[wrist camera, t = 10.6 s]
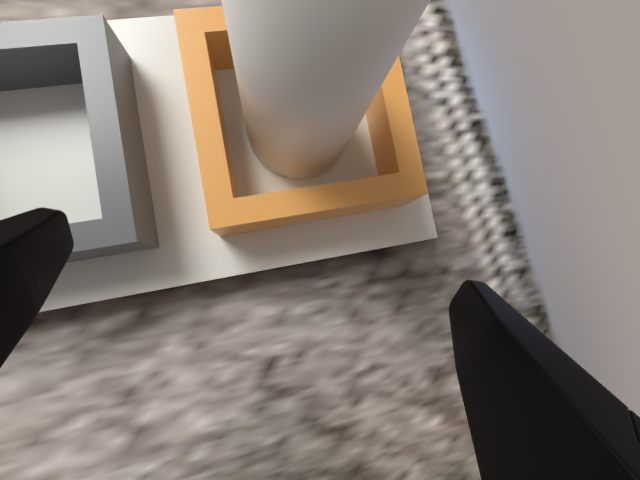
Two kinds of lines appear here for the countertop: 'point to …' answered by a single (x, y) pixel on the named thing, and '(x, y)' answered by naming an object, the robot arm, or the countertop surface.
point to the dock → (182, 159)
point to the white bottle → (312, 73)
